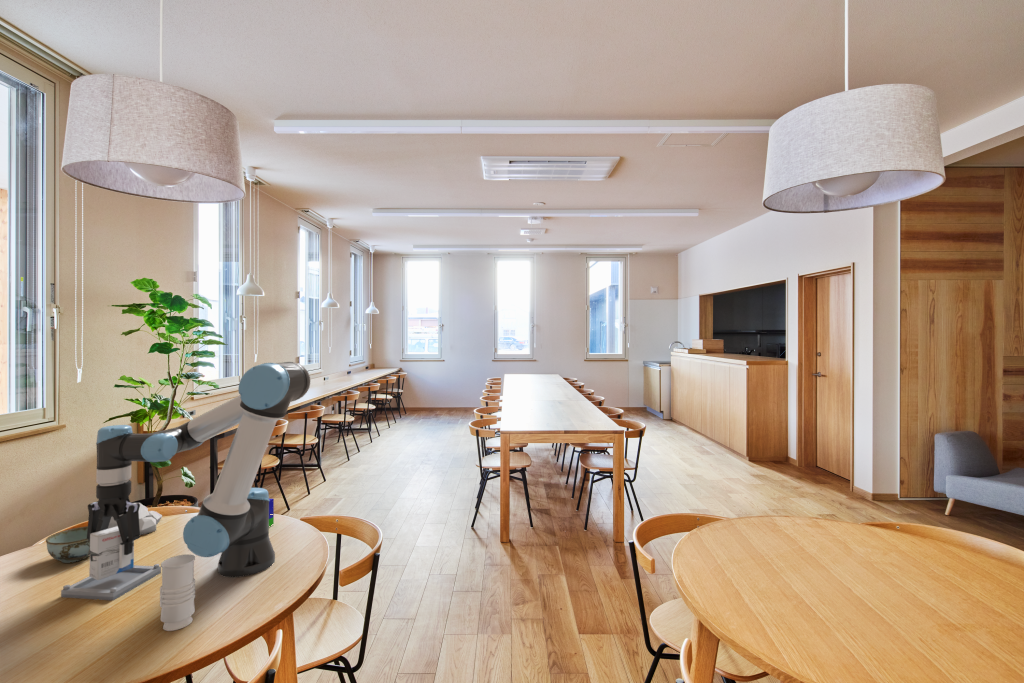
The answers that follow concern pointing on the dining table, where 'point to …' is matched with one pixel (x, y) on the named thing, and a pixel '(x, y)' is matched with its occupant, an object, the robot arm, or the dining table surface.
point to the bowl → (69, 545)
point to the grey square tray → (111, 584)
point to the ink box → (106, 553)
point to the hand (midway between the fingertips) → (113, 565)
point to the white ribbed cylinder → (177, 592)
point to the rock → (143, 520)
